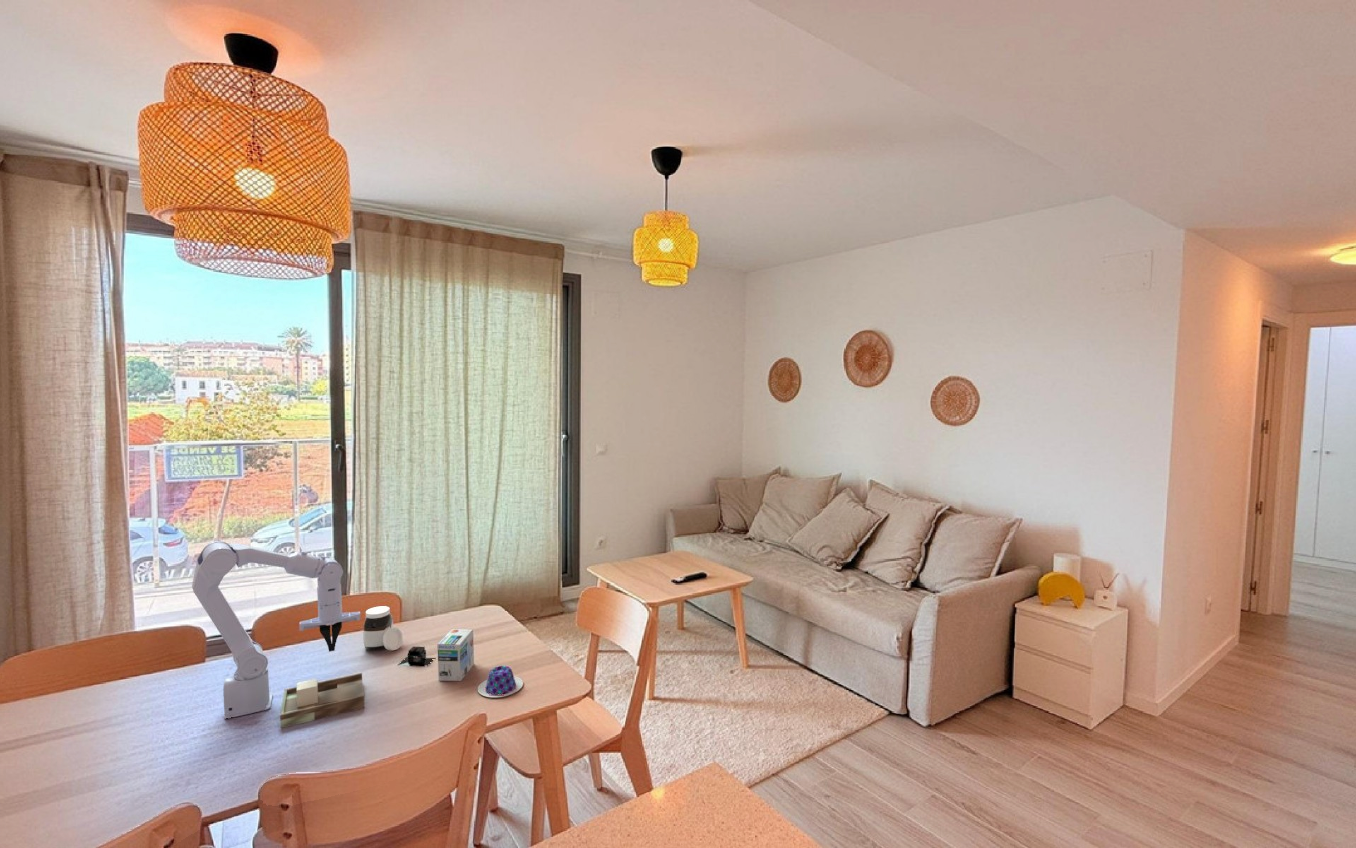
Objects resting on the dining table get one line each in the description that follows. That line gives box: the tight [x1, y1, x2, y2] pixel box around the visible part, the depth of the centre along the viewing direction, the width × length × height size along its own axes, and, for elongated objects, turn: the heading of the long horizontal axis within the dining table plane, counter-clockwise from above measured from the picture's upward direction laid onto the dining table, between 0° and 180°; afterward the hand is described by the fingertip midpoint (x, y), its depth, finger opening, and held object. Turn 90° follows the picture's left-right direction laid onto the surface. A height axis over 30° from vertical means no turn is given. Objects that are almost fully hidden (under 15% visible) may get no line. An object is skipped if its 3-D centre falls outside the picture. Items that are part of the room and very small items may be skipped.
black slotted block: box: [397, 646, 437, 667], centre depth 179 cm, size 12×7×5 cm, turn 86°
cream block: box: [296, 678, 319, 707], centre depth 153 cm, size 4×4×4 cm
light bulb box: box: [437, 628, 475, 682], centre depth 172 cm, size 11×7×11 cm, turn 179°
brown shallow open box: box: [279, 672, 365, 729], centre depth 155 cm, size 18×14×3 cm
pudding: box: [477, 665, 524, 698], centre depth 164 cm, size 12×12×5 cm
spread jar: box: [362, 605, 404, 652], centre depth 189 cm, size 12×11×12 cm
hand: (331, 649), depth 166 cm, fingers closed
